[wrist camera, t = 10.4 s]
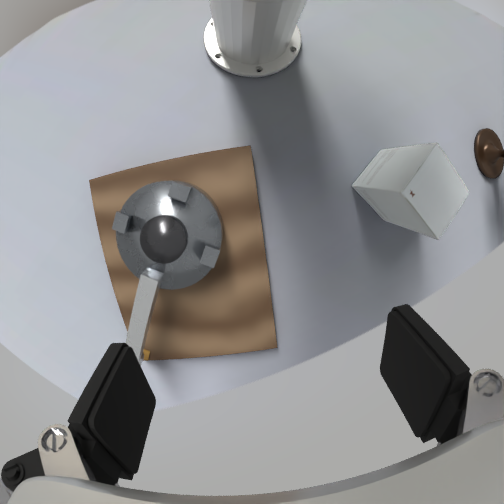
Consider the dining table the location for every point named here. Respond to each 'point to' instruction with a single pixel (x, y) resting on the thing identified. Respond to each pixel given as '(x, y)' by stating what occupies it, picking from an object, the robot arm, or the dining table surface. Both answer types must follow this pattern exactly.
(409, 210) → the supplement box
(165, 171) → the wooden base
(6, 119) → the dining table surface
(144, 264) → the faucet lever handle
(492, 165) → the candlestick
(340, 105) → the dining table surface
